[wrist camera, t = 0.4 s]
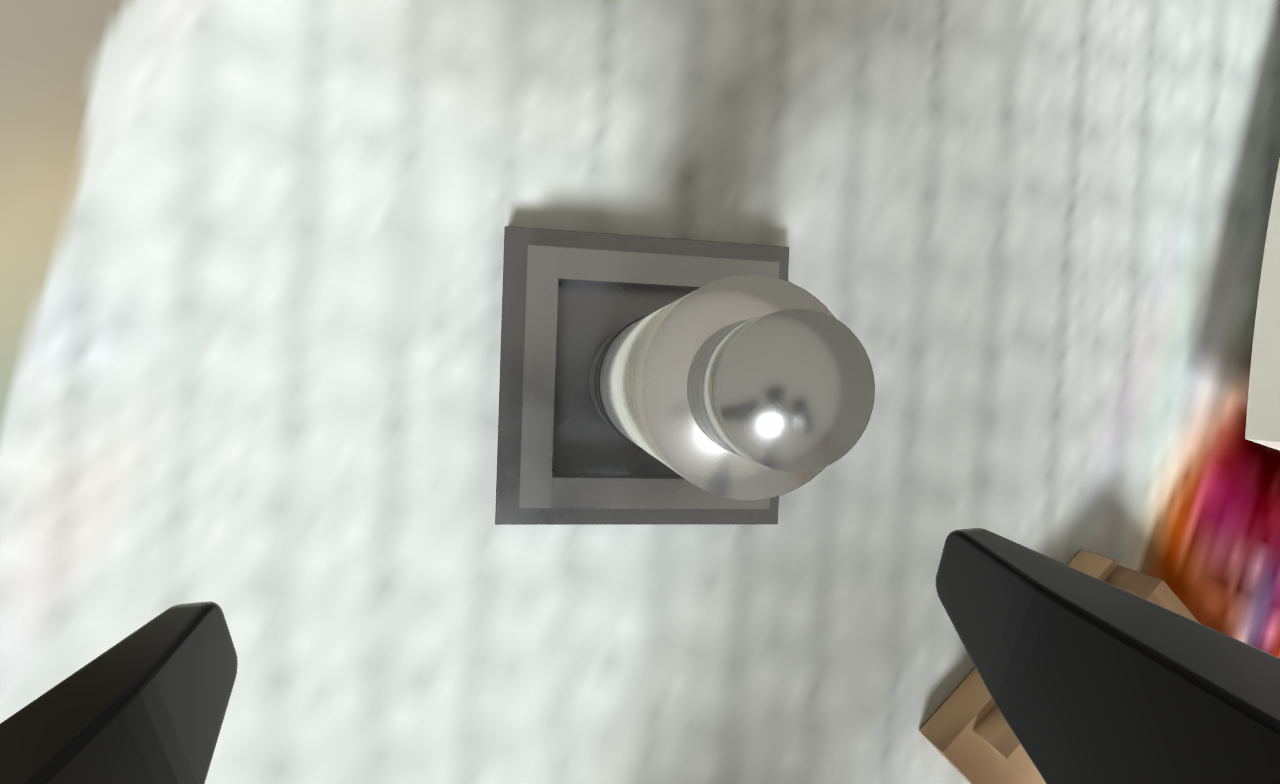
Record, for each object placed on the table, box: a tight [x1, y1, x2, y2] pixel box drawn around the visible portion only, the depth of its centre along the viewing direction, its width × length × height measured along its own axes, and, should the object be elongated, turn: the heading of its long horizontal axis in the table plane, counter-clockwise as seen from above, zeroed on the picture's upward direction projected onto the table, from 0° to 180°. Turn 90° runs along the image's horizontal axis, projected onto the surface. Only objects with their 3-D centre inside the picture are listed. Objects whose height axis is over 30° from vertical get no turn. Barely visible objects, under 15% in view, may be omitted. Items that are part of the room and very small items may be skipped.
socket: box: [495, 226, 789, 524], centre depth 22 cm, size 10×10×2 cm
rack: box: [919, 550, 1199, 784], centre depth 25 cm, size 10×10×3 cm
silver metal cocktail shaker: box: [589, 275, 875, 500], centre depth 16 cm, size 4×4×13 cm
